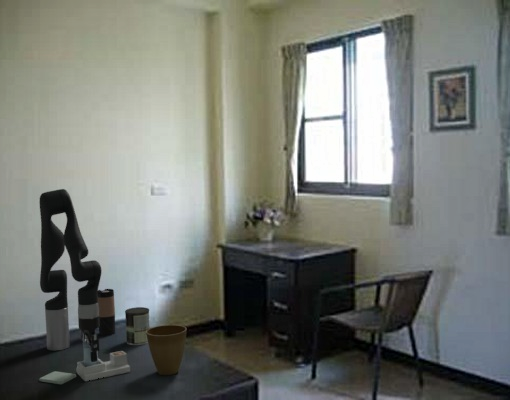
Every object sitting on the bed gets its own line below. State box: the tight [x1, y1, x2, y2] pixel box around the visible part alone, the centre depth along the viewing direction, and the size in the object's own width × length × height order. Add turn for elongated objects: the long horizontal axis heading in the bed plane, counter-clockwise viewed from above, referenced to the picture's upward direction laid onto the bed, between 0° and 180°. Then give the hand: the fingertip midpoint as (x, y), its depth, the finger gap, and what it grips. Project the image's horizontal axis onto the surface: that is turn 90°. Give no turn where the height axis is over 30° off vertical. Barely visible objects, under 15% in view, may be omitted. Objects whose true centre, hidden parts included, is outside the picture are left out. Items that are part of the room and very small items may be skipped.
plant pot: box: [146, 324, 187, 376], centre depth 230 cm, size 15×15×16 cm
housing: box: [75, 350, 131, 382], centre depth 231 cm, size 11×17×6 cm, turn 122°
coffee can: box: [124, 306, 150, 346], centre depth 269 cm, size 10×10×14 cm
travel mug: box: [97, 288, 116, 337], centre depth 283 cm, size 8×8×20 cm
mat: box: [38, 371, 77, 385], centre depth 226 cm, size 10×8×1 cm
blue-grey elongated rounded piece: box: [82, 342, 99, 367], centre depth 229 cm, size 5×5×10 cm
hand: (90, 358), depth 229 cm, fingers open, 8 cm apart
